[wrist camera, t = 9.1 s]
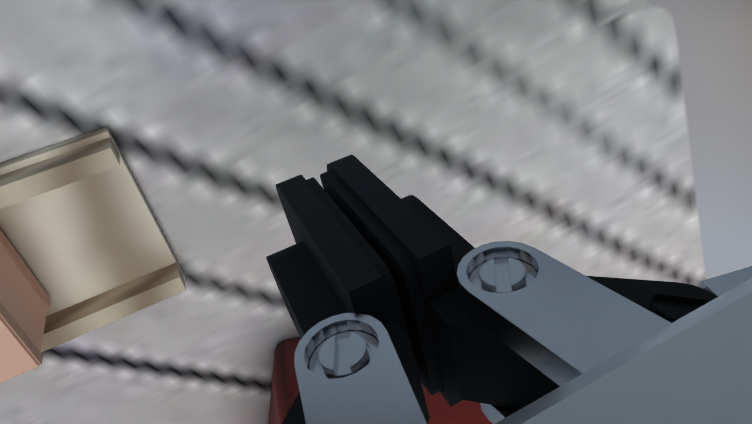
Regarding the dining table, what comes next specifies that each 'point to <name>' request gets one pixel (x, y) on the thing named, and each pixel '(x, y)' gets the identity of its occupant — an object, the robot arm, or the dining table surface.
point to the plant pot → (458, 420)
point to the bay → (85, 234)
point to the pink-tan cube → (19, 314)
